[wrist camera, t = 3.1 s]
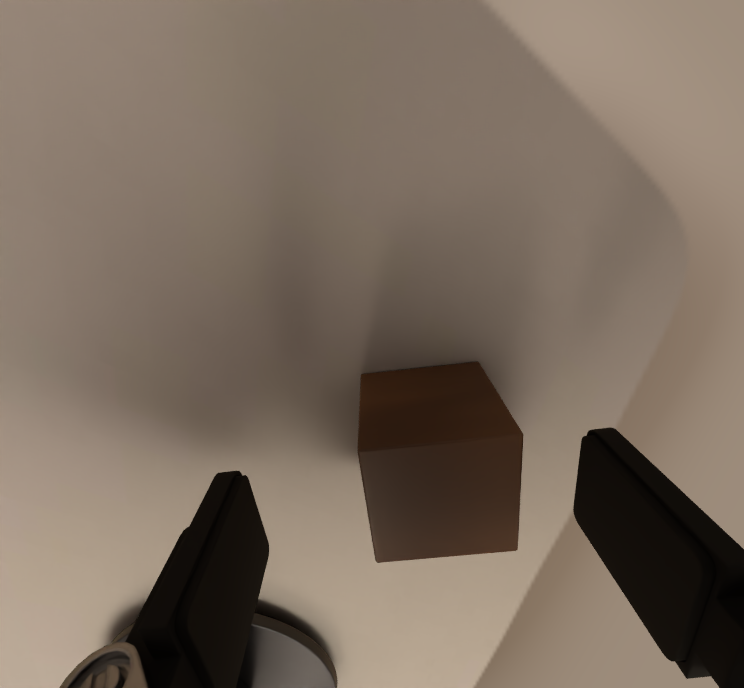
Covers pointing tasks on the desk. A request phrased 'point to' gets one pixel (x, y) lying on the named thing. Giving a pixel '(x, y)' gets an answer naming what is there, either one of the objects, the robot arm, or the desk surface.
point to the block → (438, 463)
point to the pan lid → (279, 657)
